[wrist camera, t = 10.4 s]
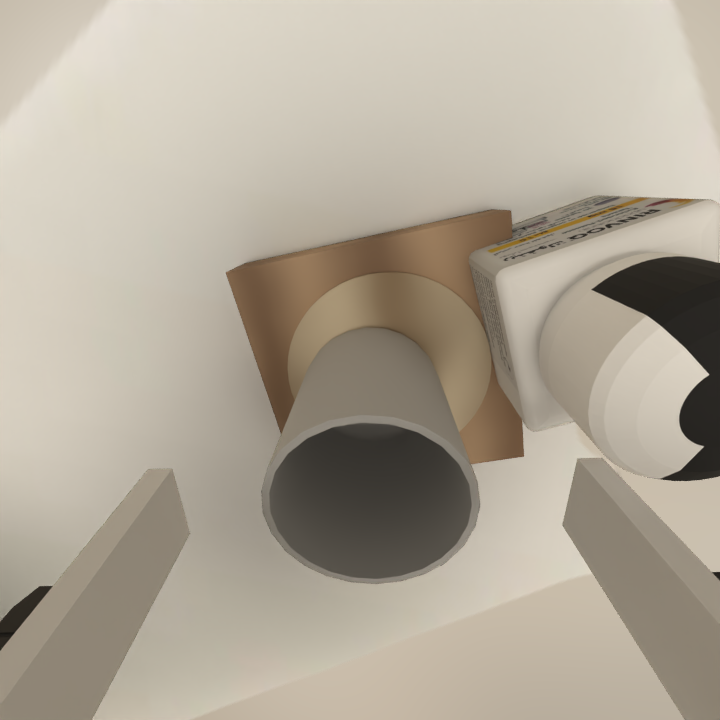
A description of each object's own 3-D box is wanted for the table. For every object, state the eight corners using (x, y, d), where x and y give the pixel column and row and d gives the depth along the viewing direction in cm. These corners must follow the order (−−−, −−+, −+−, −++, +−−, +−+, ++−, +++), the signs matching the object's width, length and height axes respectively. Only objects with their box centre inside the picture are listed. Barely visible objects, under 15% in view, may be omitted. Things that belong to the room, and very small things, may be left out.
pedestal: (307, 459, 27) (299, 491, 24) (244, 263, 21) (223, 273, 18) (507, 428, 25) (525, 459, 22) (492, 209, 20) (513, 210, 17)
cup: (390, 297, 19) (403, 371, 10) (485, 437, 22) (553, 582, 13) (279, 370, 20) (216, 483, 12) (381, 490, 23) (384, 646, 15)
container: (599, 193, 19) (952, 201, 8) (610, 325, 22) (877, 477, 11) (453, 244, 21) (564, 320, 9) (483, 363, 24) (595, 537, 12)
